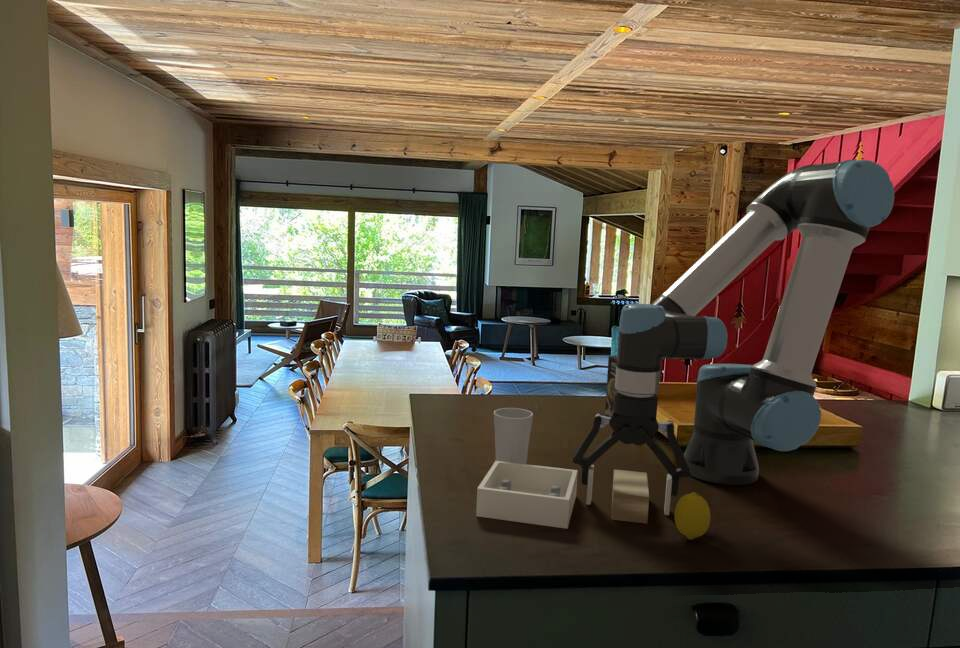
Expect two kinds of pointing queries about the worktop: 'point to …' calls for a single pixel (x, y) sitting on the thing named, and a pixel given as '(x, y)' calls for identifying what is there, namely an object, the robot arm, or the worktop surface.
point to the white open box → (527, 494)
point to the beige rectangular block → (630, 496)
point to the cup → (512, 434)
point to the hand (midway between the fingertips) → (627, 507)
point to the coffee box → (610, 385)
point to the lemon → (692, 515)
